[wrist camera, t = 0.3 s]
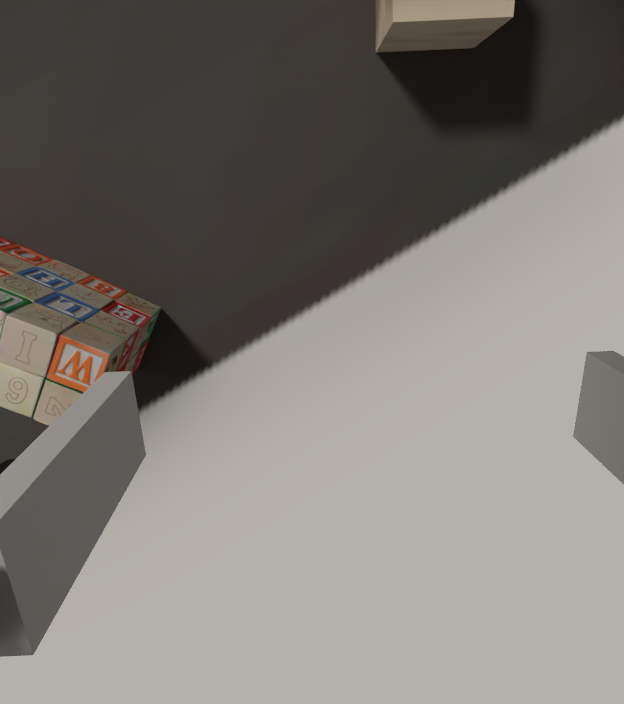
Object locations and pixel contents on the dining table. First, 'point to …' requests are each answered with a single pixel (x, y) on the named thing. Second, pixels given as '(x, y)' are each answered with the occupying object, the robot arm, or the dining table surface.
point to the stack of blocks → (62, 332)
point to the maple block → (438, 23)
